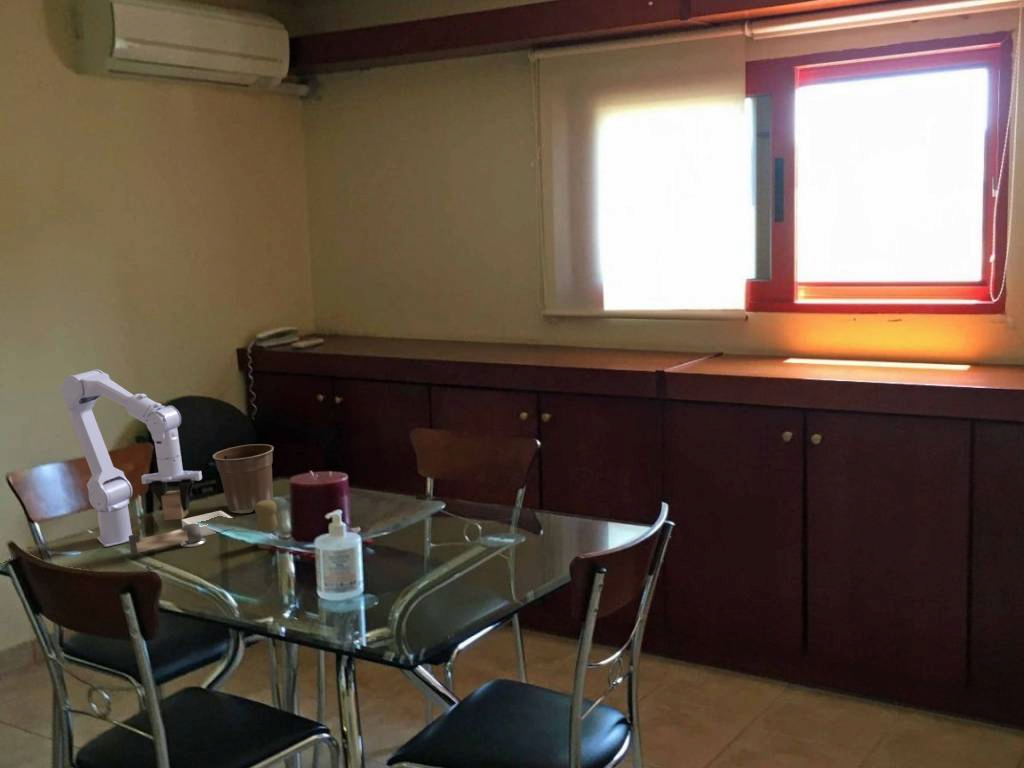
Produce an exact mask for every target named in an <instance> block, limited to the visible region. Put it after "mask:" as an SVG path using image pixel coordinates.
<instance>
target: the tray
mask: <svg viewBox="0 0 1024 768" xmlns="http://www.w3.org/2000/svg"><path fill="white" fill-rule="evenodd" d="M217 516H223V517H227V518H233V516H231V515H229V514H227V513H226V512H224V511H223V510H217V511H213V512H209V513H204V514H199V515H195V516H191V517H187V518H183V519H181V525H182V527H181V529H183V526H185V525H188V524H196V522H201V521H206V520H209V519H211V518H214V517H217ZM207 525H208V524H207ZM207 525H203V526H200V533H201V538H204V537H207V536H209V535H210V536H212V535H214V534H217V533H216V532H214V531H212V530H210V529H209V528H208V527H206V526H207Z"/></svg>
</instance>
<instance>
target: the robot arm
mask: <svg viewBox="0 0 1024 768" xmlns="http://www.w3.org/2000/svg"><path fill="white" fill-rule="evenodd" d="M60 392H61V394H62V397H63V399H64V402H65V404H66V409H67V410H66V411H67V414H68V415H69V419H70V421H71V423H72V426H73V429H74V431H75V433H76V437H77V438H78V439H77V440H78V441H79V444H80V447H81V450H82V452H83V454H84V458H85V460H86V463H87V464H88V467H89V470H90V474H91V476H90V478H89V480H88V482H87V483H86V487H87V490H88V491H87V492H88V500H89V502H90V505H91V506H92V507H93V508H94V509H95V511H96V512H97V522H98V528H99V533H100V534H99V536H97V537H96V540H98V541H99V543H101V545H103V547H106V548H108V547H111V546H116V545H119V544H125V543H129V536H130V535H133V532H132V527H131V526H132V524H131V518H130V511H129V505H128V504H130V499H131V498H132V496H133V486H132V484H131V482H130V481H129V480H128V479H127V477H126V475H125V473H124V471H123V470H121V469H118V468H116V467H114V464H113V462H112V459H111V456H110V454H109V451H108V449H107V446H106V444H105V441H104V438H103V435H102V432H101V431H100V428H99V425H98V423H97V420H96V417H95V415H94V412H93V408H94V406H95V404H96V402H97V401H99V400H100V398H101V397H104V398H106V399H108V400H111V401H112V402H114V403H116V404H119V405H121V406H123V407H125V411H126V413H127V414H128V415H130V416H131V417H133V418H135V419H136V420H138V421H139V422H140V421H141V422H142V423H143V424H145V425H146V428H147V430H148V431H149V432H150V435H151V438H152V441H153V442H154V447H155V454H156V456H155V457H156V462H157V468H158V469H157V470H158V472H155V473H147V474H143V475H141V484H142V485H145V484H146V485H147V484H150V483H151V485H150V491H152V492H153V494H154V495H155V497H156V498H157V500H158V501H159V503H160V506H161V508H162V510H163V506H162V499H161V496H162V495H164V494H165V493H166V492H167V491H168V483H170V482H179V483H178V484H177V485H178V490H180V493H181V497H182V505H183V510H187V509H188V510H189V508H190V498H191V493H192V489H193V486H194V483H195V481H199V482H200V481H201V480H202V479H203V475H202V470H184V468H183V462H182V461H183V460H182V453H181V446H180V438H179V431H178V427H180V425H181V424H182V416H181V413H180V411H179V410H178V409H177V408H176V407H175V406H173V405H162V404H161V403H160V402H156V401H154V400H152V399H151V398H149V397H147V396H148V395H147V394H145V393H135V394H133V393H131V392H129V391H128V390H126V388H124V387H122V386H120V385H119V384H118V383H116V382H115V381H113V380H112V379H111V378H110V375H109V374H108V373H106V372H103V371H102V369H97V368H95V369H91V370H89V371H85V372H82V373H77V374H73V375H68V376H66V377H65V378H64V380H63V382H62V384H61V386H60ZM107 481H108V482H107Z"/></svg>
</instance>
